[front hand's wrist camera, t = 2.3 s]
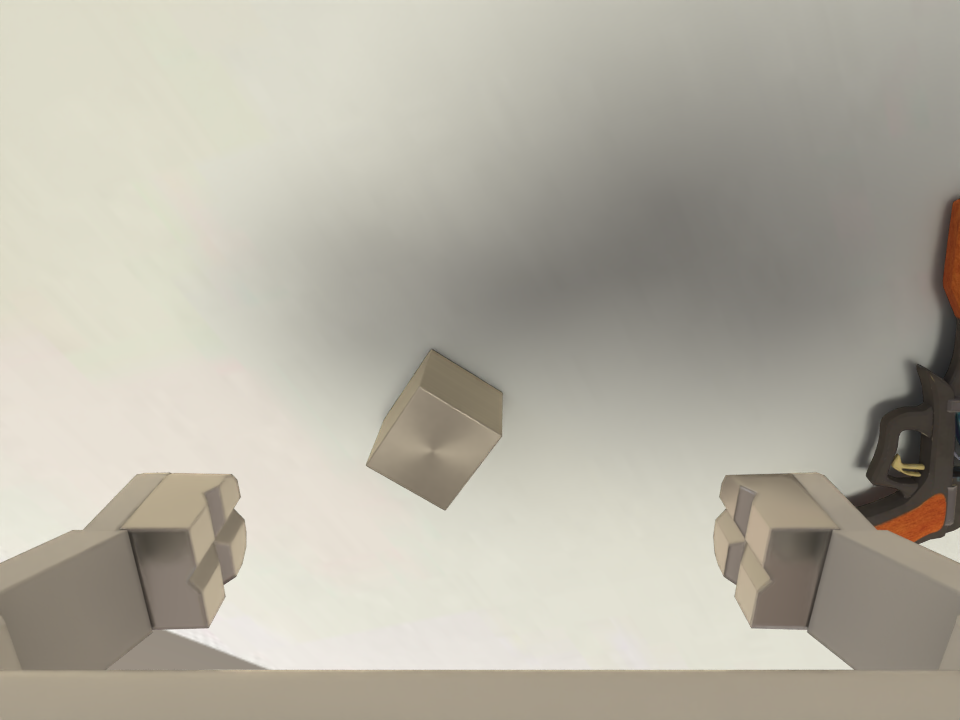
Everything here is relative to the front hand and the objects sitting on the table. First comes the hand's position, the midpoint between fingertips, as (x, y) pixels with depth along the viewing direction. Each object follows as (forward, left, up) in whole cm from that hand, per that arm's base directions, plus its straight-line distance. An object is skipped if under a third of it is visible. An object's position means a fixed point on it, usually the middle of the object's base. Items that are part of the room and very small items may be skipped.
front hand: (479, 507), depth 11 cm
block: (+4, +6, -19) cm, 20 cm away
